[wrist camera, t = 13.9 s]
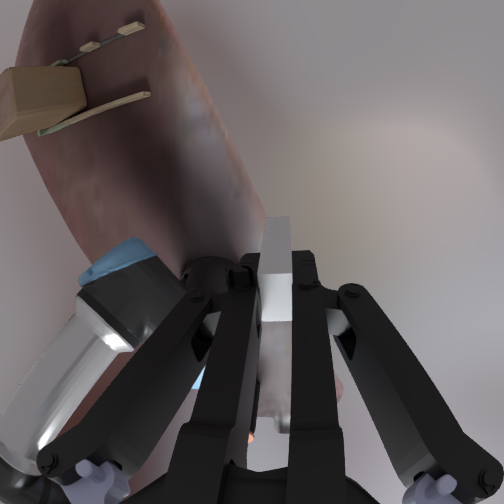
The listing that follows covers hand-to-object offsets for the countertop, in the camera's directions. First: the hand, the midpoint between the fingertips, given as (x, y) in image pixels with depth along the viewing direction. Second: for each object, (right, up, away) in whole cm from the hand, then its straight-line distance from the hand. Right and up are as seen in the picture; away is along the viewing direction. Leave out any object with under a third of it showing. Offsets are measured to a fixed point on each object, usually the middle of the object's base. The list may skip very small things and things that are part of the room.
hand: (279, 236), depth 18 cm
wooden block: (-39, +31, +22) cm, 54 cm away
